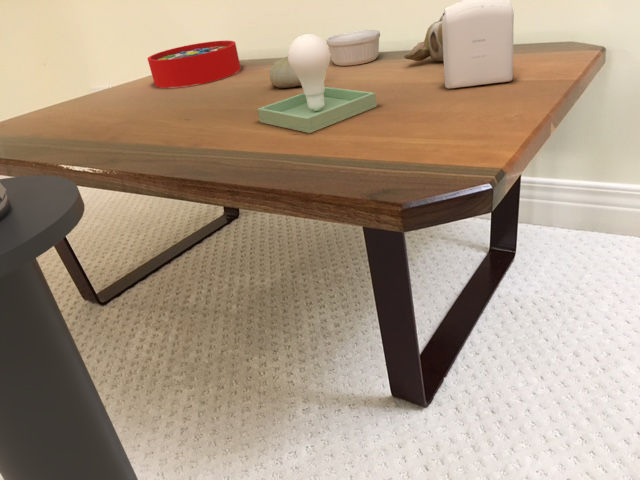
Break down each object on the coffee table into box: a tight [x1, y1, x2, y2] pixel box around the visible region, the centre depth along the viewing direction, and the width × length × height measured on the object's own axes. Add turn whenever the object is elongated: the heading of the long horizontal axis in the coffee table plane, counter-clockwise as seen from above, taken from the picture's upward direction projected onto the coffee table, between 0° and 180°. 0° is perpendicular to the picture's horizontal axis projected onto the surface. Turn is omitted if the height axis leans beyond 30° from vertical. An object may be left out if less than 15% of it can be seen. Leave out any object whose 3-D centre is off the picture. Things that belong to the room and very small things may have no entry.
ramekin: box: [325, 29, 381, 67], centre depth 113 cm, size 11×11×5 cm
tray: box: [257, 86, 378, 134], centre depth 81 cm, size 13×12×2 cm
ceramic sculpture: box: [403, 12, 444, 62], centre depth 100 cm, size 11×9×15 cm
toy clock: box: [147, 40, 242, 89], centre depth 124 cm, size 20×6×20 cm
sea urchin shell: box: [269, 56, 302, 89], centre depth 102 cm, size 9×8×8 cm
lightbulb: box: [287, 33, 331, 111], centre depth 79 cm, size 6×6×11 cm
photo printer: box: [442, 0, 515, 90], centre depth 81 cm, size 10×4×12 cm, turn 82°
